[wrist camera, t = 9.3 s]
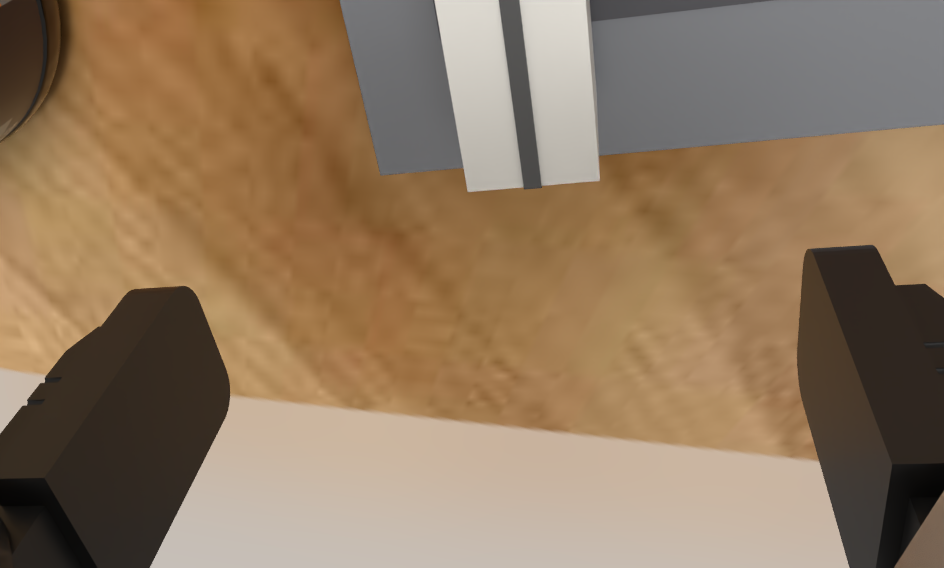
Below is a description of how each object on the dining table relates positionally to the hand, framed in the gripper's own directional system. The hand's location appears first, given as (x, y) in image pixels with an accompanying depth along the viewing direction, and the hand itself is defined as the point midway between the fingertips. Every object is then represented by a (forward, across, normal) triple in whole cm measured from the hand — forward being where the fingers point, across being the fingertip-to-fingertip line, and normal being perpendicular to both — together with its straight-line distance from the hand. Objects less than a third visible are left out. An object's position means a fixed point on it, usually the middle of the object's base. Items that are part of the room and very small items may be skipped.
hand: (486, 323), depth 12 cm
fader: (+13, 0, 0) cm, 13 cm away
